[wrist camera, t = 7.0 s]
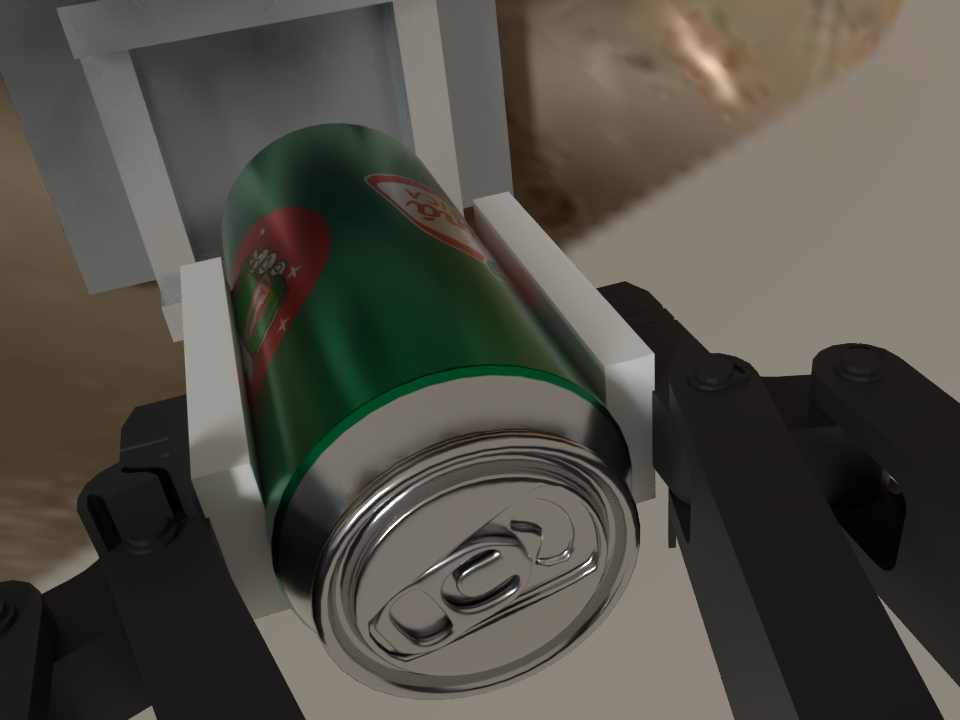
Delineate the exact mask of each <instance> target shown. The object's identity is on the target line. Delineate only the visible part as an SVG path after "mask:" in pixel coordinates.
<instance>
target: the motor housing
mask: <svg viewBox="0 0 960 720" xmlns="http://www.w3.org/2000/svg"><path fill="white" fill-rule="evenodd" d="M0 72H1V74H2V77H3V79H4V82H5V84H6V87H7V89H8V92H9V94H10V97H11V99H12V102H13V104H14V107H15V109H16V112H17V114H18V117H19V119H20V122H21V124H22V127H23V129H24V132H25V134H26V137H27V139H28V142H29V144H30V147H31V149H32V152H33V154H34V157H35V159H36V162H37V164H38V167H39V169H40V172H41V175H42V177H43V180H44V182H45V185H46V187H47V190H48V192H49V195H50V197H51V200H52V202H53V205H54V207H55V210H56V212H57V215H58V217H59V220H60V222H61V225H62V227H63V230H64V232H65V235H66V237H67V240H68V242H69V245H70V247H71V250H72V252H73V255H74V257H75V260H76V262H77V265H78V267H79V270H80V272H81V275H82V277H83V280H84V283H85V285H86V288H87V290H88V293H89V295H93V294H97V293H101V292H106V291H110V290H114V289H119V288H123V287H127V286H132V285H136V284H140V283H144V282H149V281H153V280H157V282H158V285H159V288H160V291H161V308H162V311H163V314H164V317H165V319H166V322H167V325H168V328H169V331H170V334H171V336H172V339H173V342H178V341H182V340H184V333H183V313H182V294H181V274H180V266H183V265H187V264H192V263H196V262H200V261H205V260H209V259H214V258H218V257H221V259H222V263H223V266H224V270H225V273H226V266H225V260H224V253H223V246H222V234H221V229H222V218H223V212H224V208H225V204H226V201H227V197H228V195H229V193H230V191H231V188H232V186H233V184H234V182H235V180H236V179H237V177H238V176H239V174H240V173H241V172H242V170H243V169H244V167H245V166H246V165H247V164H248V163H249V162H250V161H251V160H252V159H253V157H254V156H255V155H256V154H257V153H258V152H260V151H261V150H262V149H264V148H265V147H266V146H268V145H269V144H270V143H272V142H273V141H275V140H277V139H279V138H281V137H283V136H284V135H286V134H288V133H291V132H294V131H296V130H299V129H302V128H305V127H309V126H315V125H320V124H328V123H346V124H354V125H361V126H365V127H368V128H372V129H375V130H378V131H381V132H383V133H385V134H387V135H389V136H391V137H393V138H395V139H396V140H398V141H399V142H401V143H402V144H404V145H405V146H406V147H408V148H409V149H410V150H411V151H412V152H413V153H414V154H415V155H416V156H417V157H418V158H419V159H420V160H421V161H422V162H423V164H424V165H425V166H426V168H427V169H428V170H429V172H430V173H431V174H432V176H433V177H434V178H435V180H436V181H437V182H438V184H439V185H440V186H441V188H442V189H443V190H444V192H445V193H446V194H447V196H448V197H449V198H450V200H451V201H452V202H453V204H454V205H455V206H456V208H457V209H458V210H459V212H460V213H461V214H462V216H463V217H464V212H463V208H468V207H472V206H473V199H478V198H482V197H486V196H491V195H495V194H500V193H504V192H509V193H510V194H511V195H512V196H513V197H514V192H513V181H512V171H511V161H510V150H509V140H508V129H507V119H506V109H505V98H504V88H503V77H502V67H501V57H500V46H499V36H498V25H497V15H496V5H495V0H0ZM226 276H227V273H226ZM227 280H228V279H227Z"/></svg>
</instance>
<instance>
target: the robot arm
mask: <svg viewBox="0 0 960 720" xmlns="http://www.w3.org/2000/svg"><path fill="white" fill-rule="evenodd" d="M473 209H474V217H475V225H476V233H477V236H478V237H479V238H480V240H481V241H482V242H483V244H484V245H485V246H486V248H487V249H488V250H489V252H490V253H491V254H492V256H493V257H494V258H495V260H496V261H497V262H498V264H499V265H500V266H501V268H502V269H503V270H504V272H505V273H506V274H507V276H508V277H509V278H510V280H511V281H512V282H513V284H514V285H515V286H516V288H517V289H518V290H519V292H520V293H521V294H522V296H523V297H524V298H525V300H526V301H527V302H528V304H529V305H530V306H531V308H532V309H533V310H534V312H535V313H536V314H537V316H538V317H539V318H540V320H541V321H542V322H543V324H544V325H545V326H546V328H547V329H548V330H549V332H550V333H551V334H552V336H553V337H554V338H555V340H556V341H557V342H558V344H559V345H560V346H561V348H562V349H563V350H564V352H565V353H566V354H567V356H568V357H569V358H570V360H571V361H572V362H573V364H574V365H575V366H576V368H577V369H578V370H579V372H580V373H581V374H582V376H583V377H584V378H585V380H586V381H587V382H588V384H589V385H590V386H591V388H592V389H593V390H594V392H595V393H596V394H597V396H598V397H599V398H600V400H601V401H602V402H603V404H604V405H605V406H606V408H607V409H608V410H609V412H610V413H611V415H612V416H613V417H614V419H615V420H616V422H617V423H618V425H619V426H620V428H621V431H622V433H623V435H624V438H625V440H626V442H627V445H628V448H629V453H630V458H631V464H632V496H633V498H634V500H635V503H639V502H643V501H646V500H649V499H653V498H655V470H656V471H657V472H658V474H659V475H660V476H661V478H662V479H663V480H664V482H665V483H666V484H667V485H668V487H669V503H668V505H669V506H668V508H669V509H668V512H669V513H668V515H669V516H668V518H669V519H668V541H669V542H668V543H669V548H674V547H676V537H677V540H678V543H679V546H680V549H681V552H682V556H683V559H684V562H685V565H686V568H687V571H688V574H689V577H690V581H691V584H692V587H693V590H694V594H695V596H696V600H697V603H698V606H699V609H700V612H701V616H702V618H703V622H704V625H705V628H706V631H707V634H708V638H709V641H710V644H711V647H712V650H713V653H714V656H715V660H716V663H717V666H718V669H719V672H720V675H721V679H722V681H723V685H724V688H725V691H726V694H727V698H728V701H729V704H730V707H731V710H732V713H733V716H734V720H944V719H943V716H942V715H941V713H940V711H939V709H938V707H937V705H936V703H935V701H934V700H933V698H932V696H931V694H930V692H929V690H928V688H927V687H926V685H925V683H924V681H923V679H922V677H921V676H920V674H919V672H918V670H917V668H916V666H915V664H914V663H913V661H912V659H911V657H910V655H909V653H908V651H907V649H906V648H905V646H904V644H903V642H902V640H901V638H900V636H899V635H898V633H897V631H896V629H895V627H894V625H893V623H892V621H891V620H890V618H889V616H888V614H887V612H886V610H885V609H884V607H883V605H882V603H881V601H880V599H879V598H878V596H879V597H880V598H881V599H882V600H883V601H884V603H885V604H886V605H887V606H888V607H889V608H890V609H891V610H892V611H893V613H894V614H896V616H897V617H898V618H899V619H900V620H901V621H902V623H903V624H904V625H905V626H906V627H907V628H908V629H909V631H910V632H911V633H912V634H913V635H914V636H915V637H916V638H917V640H919V642H920V643H921V644H922V645H923V646H924V647H925V649H926V650H927V651H928V652H929V653H930V654H931V655H932V656H933V658H934V659H935V660H936V661H937V662H938V663H939V664H940V665H941V667H942V668H943V669H944V670H945V671H946V672H947V673H948V674H949V675H950V677H951V678H952V679H953V680H954V681H955V682H956V683H957V685H958V686H959V687H960V403H958V402H957V401H956V400H955V399H953V398H952V397H951V396H950V395H948V394H947V393H945V392H944V391H943V390H942V389H940V388H939V387H938V386H936V385H935V384H934V383H933V382H931V381H930V380H929V379H927V378H926V377H925V376H923V375H922V374H921V373H919V372H918V371H917V370H915V369H914V368H913V367H912V366H910V365H909V364H908V363H906V362H905V361H904V360H902V359H901V358H900V357H898V356H897V355H895V354H893V353H891V352H889V351H887V350H886V349H883V348H879V347H875V346H872V345H868V344H860V343H859V344H856V343H847V344H840V345H833V346H831V347H828V348H826V349H824V350H822V351H820V352H819V353H818V354H817V355H816V356H815V358H814V359H813V363H812V372H811V375H800V376H799V375H798V376H782V377H761V376H759V374H758V372H757V371H756V370H755V369H754V368H753V367H752V366H751V364H750V363H748V362H746V361H744V360H742V359H739V358H738V357H735V356H730V355H725V354H721V353H709V352H708V350H707V349H706V348H705V347H704V346H702V344H701V343H699V341H698V340H697V339H695V337H693V336H692V335H691V334H690V333H689V332H688V331H687V330H686V329H685V328H684V327H683V326H682V325H681V324H680V323H679V322H678V321H677V320H674V317H673V316H672V315H671V314H670V313H669V312H668V311H667V310H666V309H665V308H664V309H663V307H662V305H661V304H660V303H659V302H658V301H657V300H656V299H655V298H654V297H653V296H652V295H651V294H650V293H649V292H648V291H646V290H644V289H642V288H639V287H637V286H635V285H632V284H630V283H628V282H620V283H617V284H612V285H609V286H604V287H600V288H595V287H594V286H593V285H592V284H591V283H590V282H589V280H588V279H587V278H586V277H585V276H584V275H583V274H582V273H581V272H580V271H579V269H578V268H577V267H576V266H575V265H574V264H573V263H572V262H571V260H570V259H569V258H568V257H567V256H566V255H565V254H564V253H563V252H562V250H561V249H560V248H559V247H558V246H557V245H556V244H555V243H554V242H553V240H552V239H551V238H550V237H549V236H548V235H547V234H546V233H545V232H544V230H543V229H542V228H541V227H540V226H539V225H538V224H537V223H536V222H535V220H534V219H533V218H532V217H531V216H530V215H529V214H528V213H527V212H526V210H525V209H524V208H523V207H522V206H521V205H520V204H519V203H518V202H517V200H516V199H515V198H514V197H513V196H512V195H511V194H510V193H509V192H504V193H500V194H495V195H491V196H486V197H482V198H478V199H473ZM180 274H181V294H182V313H183V333H184V352H185V372H186V391H187V394H186V395H182V396H178V397H174V398H170V399H166V400H163V401H159V402H155V403H151V404H147V405H143V406H139V407H135V409H134V410H133V412H132V413H131V415H130V416H129V418H128V419H127V421H126V422H125V424H124V425H123V427H122V428H121V444H120V450H121V453H120V462H119V463H117V464H115V465H113V466H111V467H109V468H107V469H105V470H104V471H102V472H100V473H99V474H98V475H96V476H95V477H94V478H93V479H92V480H91V481H90V482H88V483H87V484H86V485H85V487H84V488H83V490H82V492H81V493H80V495H79V497H78V498H77V512H78V514H79V516H80V518H81V520H82V522H83V524H84V526H85V528H86V530H87V533H88V535H89V537H90V539H91V541H92V543H93V545H94V547H95V549H96V551H97V553H98V556H99V559H98V560H97V561H96V562H95V563H93V564H92V565H91V566H90V567H89V568H87V569H86V570H85V571H83V572H82V573H80V574H79V575H77V576H75V577H73V578H72V579H70V580H68V581H66V582H64V583H63V584H60V585H58V586H57V587H55V588H53V589H51V590H49V591H47V592H45V593H43V594H41V592H40V591H39V590H38V589H37V588H35V587H34V586H33V585H32V584H30V583H28V582H22V581H16V580H11V581H5V582H0V720H128V719H130V718H131V717H133V716H135V715H137V714H138V713H140V712H141V711H143V710H145V709H146V708H148V707H150V706H151V705H152V707H153V710H154V712H155V715H156V718H157V720H306V719H305V717H304V716H303V714H302V712H301V710H300V708H299V706H298V704H297V702H296V700H295V698H294V696H293V694H292V693H291V691H290V689H289V687H288V685H287V683H286V681H285V679H284V677H283V675H282V674H281V672H280V670H279V668H278V666H277V664H276V662H275V660H274V658H273V656H272V655H271V652H270V651H269V649H268V647H267V645H266V643H265V641H264V639H263V637H262V635H261V634H260V631H259V630H258V628H257V626H256V624H255V622H254V619H257V618H260V617H264V616H267V615H270V614H273V613H277V612H280V611H283V610H287V609H290V607H289V605H288V603H287V602H286V600H285V598H284V596H283V594H282V593H281V591H280V589H279V587H278V583H277V580H276V576H275V573H274V569H273V566H272V560H271V554H270V548H269V541H268V535H267V527H266V513H265V505H264V499H263V492H262V486H261V480H260V473H259V467H258V461H257V454H256V448H255V441H254V435H253V429H252V422H251V416H250V410H249V403H248V397H247V391H246V384H245V378H244V371H243V365H242V359H241V352H240V346H239V339H238V333H237V327H236V320H235V314H234V307H233V301H232V294H231V290H230V286H229V283H228V280H227V276H226V273H225V270H224V266H223V263H222V259H221V257H218V258H214V259H209V260H205V261H200V262H196V263H192V264H187V265H183V266H180ZM890 475H891V476H892V477H893V478H894V480H895V481H896V482H897V483H898V484H897V483H896V482H895V481H894V480H893V479H892V478H891V477H890Z"/></svg>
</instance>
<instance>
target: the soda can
mask: <svg viewBox="0 0 960 720" xmlns="http://www.w3.org/2000/svg"><path fill="white" fill-rule="evenodd" d="M221 234H222V246H223V253H224V260H225V266H226V273H227V279H228V283H229V286H230V290H231V294H232V301H233V307H234V314H235V320H236V327H237V333H238V339H239V346H240V352H241V359H242V365H243V371H244V378H245V384H246V391H247V397H248V403H249V410H250V416H251V422H252V429H253V435H254V441H255V448H256V454H257V461H258V467H259V473H260V480H261V486H262V492H263V499H264V505H265V513H266V527H267V535H268V541H269V548H270V554H271V560H272V566H273V569H274V573H275V576H276V580H277V583H278V587H279V589H280V591H281V593H282V594H283V596H284V598H285V600H286V602H287V603H288V605H289V607H290V608H291V609H292V610H293V612H294V613H295V614H296V615H297V616H298V617H299V618H300V620H301V621H302V622H303V623H304V624H305V625H306V626H308V627H309V628H311V630H313V631H314V632H315V633H316V634H317V635H318V637H319V639H320V641H321V643H322V645H323V646H324V648H325V650H326V652H327V653H328V655H329V656H330V657H331V658H332V660H334V662H335V663H336V664H337V665H338V666H339V668H340V669H341V670H342V671H344V672H345V673H347V674H348V675H349V676H350V677H352V678H353V679H354V680H356V681H357V682H360V683H361V684H364V685H365V686H368V687H369V688H372V689H374V690H376V691H380V692H383V693H386V694H389V695H393V696H397V697H403V698H410V699H417V700H444V699H454V698H463V697H468V696H473V695H477V694H482V693H487V692H490V691H493V690H496V689H499V688H503V687H506V686H509V685H511V684H513V683H516V682H518V681H520V680H523V679H525V678H527V677H529V676H532V675H534V674H536V673H537V672H539V671H541V670H543V669H545V668H546V667H548V666H550V665H552V664H553V663H555V662H556V661H558V660H559V659H561V658H562V657H563V656H565V655H566V654H568V653H569V652H571V651H572V650H573V649H574V648H576V647H577V646H578V645H579V644H580V643H582V642H583V641H584V640H585V639H586V638H587V637H588V636H590V635H591V634H592V633H593V632H594V631H595V629H596V628H597V627H598V626H599V625H600V624H601V623H602V622H603V621H604V620H605V618H607V616H608V615H609V613H610V612H611V611H612V609H613V608H614V607H615V605H616V604H617V603H618V601H619V600H620V598H621V596H622V594H623V592H624V591H625V589H626V587H627V585H628V583H629V581H630V579H631V576H632V573H633V571H634V568H635V565H636V562H637V557H638V552H639V547H640V523H639V517H638V512H637V508H636V503H635V500H634V498H633V496H632V464H631V458H630V453H629V448H628V445H627V442H626V440H625V438H624V435H623V433H622V431H621V428H620V426H619V425H618V423H617V422H616V420H615V419H614V417H613V416H612V415H611V413H610V412H609V410H608V409H607V408H606V406H605V405H604V404H603V402H602V401H601V400H600V398H599V397H598V396H597V394H596V393H595V392H594V390H593V389H592V388H591V386H590V385H589V384H588V382H587V381H586V380H585V378H584V377H583V376H582V374H581V373H580V372H579V370H578V369H577V368H576V366H575V365H574V364H573V362H572V361H571V360H570V358H569V357H568V356H567V354H566V353H565V352H564V350H563V349H562V348H561V346H560V345H559V344H558V342H557V341H556V340H555V338H554V337H553V336H552V334H551V333H550V332H549V330H548V329H547V328H546V326H545V325H544V324H543V322H542V321H541V320H540V318H539V317H538V316H537V314H536V313H535V312H534V310H533V309H532V308H531V306H530V305H529V304H528V302H527V301H526V300H525V298H524V297H523V296H522V294H521V293H520V292H519V290H518V289H517V288H516V286H515V285H514V284H513V282H512V281H511V280H510V278H509V277H508V276H507V274H506V273H505V272H504V270H503V269H502V268H501V266H500V265H499V264H498V262H497V261H496V260H495V258H494V257H493V256H492V254H491V253H490V252H489V250H488V249H487V248H486V246H485V245H484V244H483V242H482V241H481V240H480V238H479V237H478V236H477V234H476V233H475V232H474V230H473V229H472V228H471V226H470V225H469V224H468V222H467V221H466V220H465V218H464V217H463V216H462V214H461V213H460V212H459V210H458V209H457V208H456V206H455V205H454V204H453V202H452V201H451V200H450V198H449V197H448V196H447V194H446V193H445V192H444V190H443V189H442V188H441V186H440V185H439V184H438V182H437V181H436V180H435V178H434V177H433V176H432V174H431V173H430V172H429V170H428V169H427V168H426V166H425V165H424V164H423V162H422V161H421V160H420V159H419V158H418V157H417V156H416V155H415V154H414V153H413V152H412V151H411V150H410V149H409V148H408V147H406V146H405V145H404V144H402V143H401V142H399V141H398V140H396V139H395V138H393V137H391V136H389V135H387V134H385V133H383V132H381V131H378V130H375V129H372V128H368V127H365V126H361V125H354V124H346V123H328V124H320V125H315V126H309V127H305V128H302V129H299V130H296V131H294V132H291V133H288V134H286V135H284V136H283V137H281V138H279V139H277V140H275V141H273V142H272V143H270V144H269V145H268V146H266V147H265V148H264V149H262V150H261V151H260V152H258V153H257V154H256V155H255V156H254V157H253V159H252V160H251V161H250V162H249V163H248V164H247V165H246V166H245V167H244V169H243V170H242V172H241V173H240V174H239V176H238V177H237V179H236V180H235V182H234V184H233V186H232V188H231V191H230V193H229V195H228V197H227V201H226V204H225V208H224V212H223V218H222V229H221Z"/></svg>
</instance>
